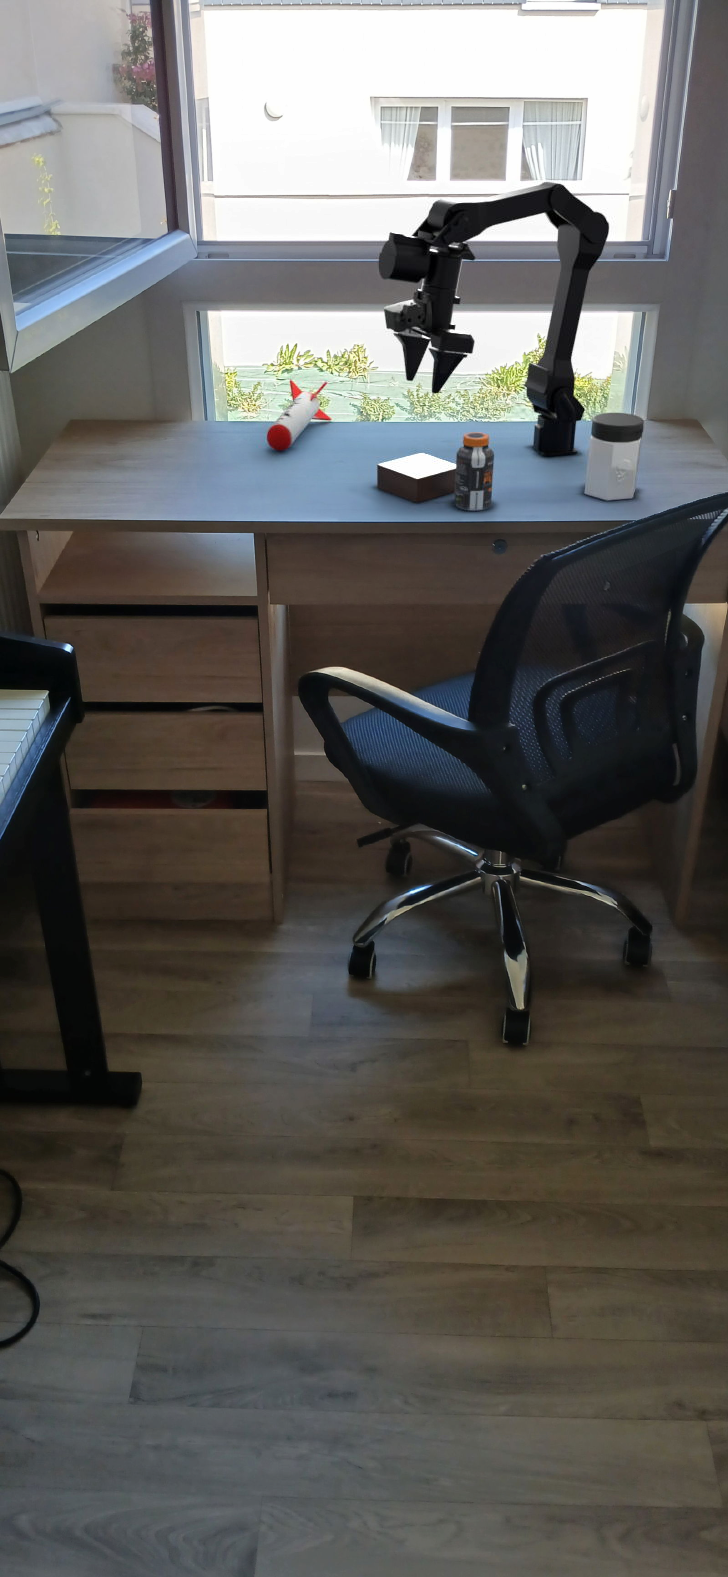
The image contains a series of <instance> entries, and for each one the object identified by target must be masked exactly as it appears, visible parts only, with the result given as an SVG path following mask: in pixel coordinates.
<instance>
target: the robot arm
mask: <svg viewBox="0 0 728 1577" xmlns="http://www.w3.org/2000/svg"><path fill="white" fill-rule="evenodd" d="M541 214H545V217H546V218H547V220H548V222H549V223H550V224H551V225H552V226H553V227H554V228H555V229H556V230H557V238H556V240H557V241H556V249H557V254H558V258H559V262H560V270H559V274H558V279H557V280H558V281H557V285H556V289H555V295H554V300H553V304H552V310H551V314H550V320H549V325H548V330H547V336H546V340H545V345H544V350H543V353H542V356H541V357H540V358H539V360H538V362H537V363H532V362H530V363H529V365H528V367H527V377H526V380H525V383H524V384H523V387H525V388H526V390H525V391H526V392H525V393H526V398H527V399H528V400H529V402H530V403H531V405H532V410H533V412H534V413H537V414H538V415H537V423H535V424H534V428H533V430H534V431H533V440H532V442H533V443H532V444H531V447H532V448H533V449H534V450H535V451H537V452H538V453H539V454H541V455H542V456H543V457H554V456H555V457H556V456H566V455H576V454H578V450H577V449H576V448H575V439H576V431H577V430H576V428H577V422H580V421H582V419H583V416H584V414H585V411H586V407H584V406H583V404H582V403H581V402H580V401H579V400H578V398H576V396H575V383H576V382H575V381H576V377H575V372H574V368H573V362H572V356H573V353H574V352H573V351H574V348H575V342H576V338H577V333H578V328H579V324H580V319H581V315H582V310H583V305H584V300H585V295H586V290H587V286H588V280H589V275H590V272H591V270H592V268H593V267H594V266H595V265H596V263H597V262H598V260H599V259H600V258H601V256H602V254H603V251H604V249H605V246H606V243H607V240H608V237H609V233H610V222H609V221H608V220H607V217H606V216H605V215H604V214H603V213H602V212H599V211H595V210H593V209H592V208H591V207H590V206H588V205H587V204H586V203H585V202H583V201H582V200H581V199H579V198H578V197H576V196H575V195H574V194H573V193H572V192H571V191H570V190H569V189H568V188H567V187H566V186H565V185H564V184H562V183H558V182H552V181H544V182H542V183H540V184H538V185H534V186H531V187H524V188H520V189H517V190H513V191H509V192H505V193H500V194H496V195H492V196H487V197H483V198H440V199H438V200H435V201H434V202H433V203H432V206H431V208H430V209H429V211H428V215H427V217H426V218H425V219H424V220H423V221H422V223H420V225H419V226H418V227H417V229H416V230H415V231H414V232H413V233H412V234H411V235H405V234H403V233H399V232H394V231H390V232H389V234H388V240H386V241H385V243H384V244H383V245H382V248H381V250H380V251H381V252H379V256H378V272H379V275H380V277H381V279H383V280H385V281H394V282H401V283H409V284H419V283H420V282H421V280H422V282H421V288H420V289H419V288H417V289H415V291H414V292H413V296H412V299H409V300H404V301H401V302H397V303H393V304H391V305H387V306H385V307H383V312H384V319H385V320H384V321H385V327H386V329H387V330H392V331H393V336H394V337H396V339H397V340H398V342H399V343H400V344H401V348H402V353H403V360H404V362H403V363H404V370H405V379H406V381H407V382H413V381H414V379H415V377H416V375H417V374H418V371H419V368H420V366H421V364H422V361H423V359H424V356H425V354H426V352H427V349H428V351H429V353H430V354H431V357H432V358H433V366H432V377H431V378H432V379H431V393H432V394H439V393H440V391H441V390H442V389H443V387H444V386H445V384H446V383H447V381H448V380H449V378H450V377H451V375H452V374H453V373H454V371H455V370H456V369H457V367H458V366H459V365H460V364H461V362H462V361H463V360H464V359H466V358H468V356H469V354H471V355H472V354H473V352H474V348H475V339H474V337H473V336H472V334H471V333H468V332H465V331H463V330H459V329H458V330H457V329H456V326H457V325H456V324H454V323H452V320H453V314H454V308H455V305H460V303H461V297H459V296H457V293H458V292H457V291H458V286H459V281H460V275H461V272H462V271H461V270H462V264H463V260H465V261H466V260H467V261H471V262H473V261H475V260H476V256H475V254H474V252H473V251H472V250H471V248H470V246H469V243H468V242H467V241H470V240H471V239H473V238H476V237H478V236H480V235H481V234H482V233H483V232H484V231H486V230H488V229H489V228H491V227H493V226H497V225H501V224H504V223H509V222H513V221H517V220H521V219H526V218H529V217H534V216H538V215H541ZM454 243H455V244H456V245H452V244H454ZM431 247H433V248H435V249H431ZM429 344H430V346H431V347H429Z"/></svg>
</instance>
